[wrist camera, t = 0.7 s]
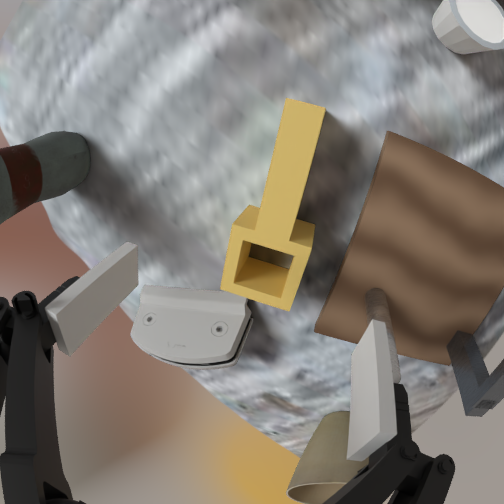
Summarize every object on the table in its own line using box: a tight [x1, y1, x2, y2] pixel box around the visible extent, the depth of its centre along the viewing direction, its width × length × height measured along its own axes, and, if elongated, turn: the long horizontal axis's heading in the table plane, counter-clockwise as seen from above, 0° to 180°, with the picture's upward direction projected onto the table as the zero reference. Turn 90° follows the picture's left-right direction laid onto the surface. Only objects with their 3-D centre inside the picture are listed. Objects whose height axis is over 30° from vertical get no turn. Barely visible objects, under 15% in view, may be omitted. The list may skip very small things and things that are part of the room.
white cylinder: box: [432, 0, 504, 54], centre depth 14 cm, size 7×7×7 cm
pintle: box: [365, 288, 401, 384], centre depth 27 cm, size 2×2×14 cm
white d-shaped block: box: [131, 285, 253, 370], centre depth 38 cm, size 17×5×10 cm, turn 96°
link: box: [220, 98, 326, 311], centre depth 28 cm, size 20×8×6 cm, turn 168°
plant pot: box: [286, 411, 369, 504], centre depth 38 cm, size 15×15×16 cm
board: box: [314, 131, 504, 366], centre depth 29 cm, size 25×22×2 cm
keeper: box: [446, 330, 504, 417], centre depth 24 cm, size 11×4×13 cm, turn 168°
